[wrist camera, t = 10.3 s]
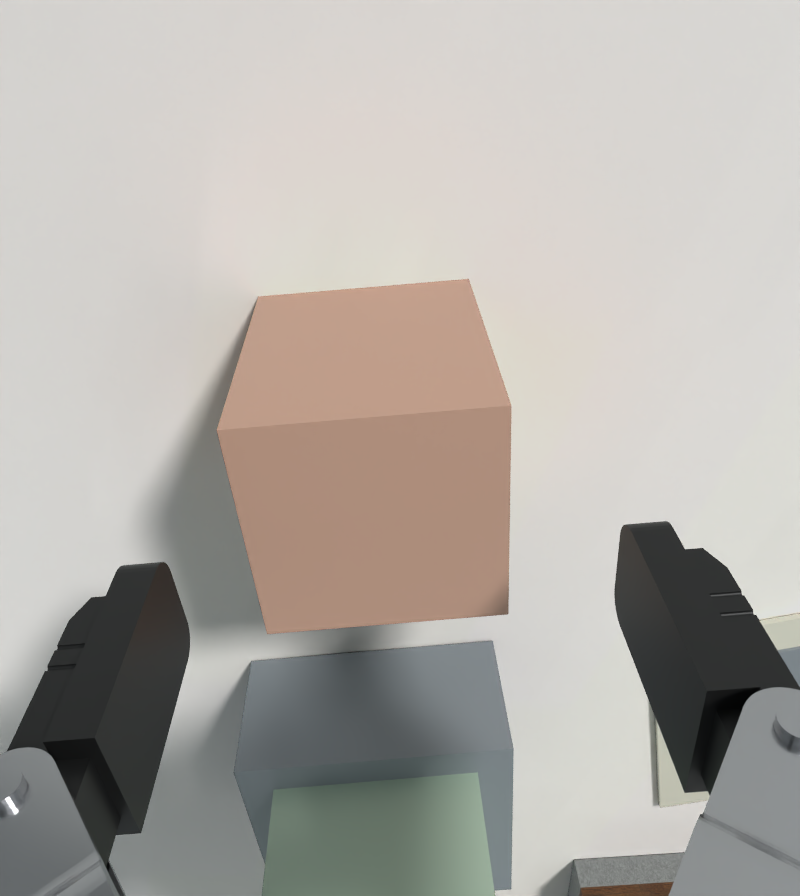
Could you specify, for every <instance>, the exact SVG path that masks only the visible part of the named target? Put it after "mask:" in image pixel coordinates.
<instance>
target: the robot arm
mask: <svg viewBox="0 0 800 896" xmlns="http://www.w3.org/2000/svg"><path fill="white" fill-rule="evenodd" d="M615 606H616V612H617V617H618V621H619V624H620V627H621V629H622V632H623V634H624V637H625V640H626V642H627V645H628V647H629V650H630V653H631V655H632V658H633V660H634V663H635V666H636V668H637V671H638V673H639V676H640V679H641V681H642V684H643V686H644V689H645V692H646V694H647V697H648V699H649V702H650V704H651V707H652V710H653V712H654V715H655V717H656V720H657V723H658V725H659V728H660V730H661V733H662V736H663V738H664V741H665V743H666V746H667V749H668V751H669V754H670V756H671V759H672V762H673V764H674V767H675V769H676V772H677V774H678V777H679V780H680V782H681V785H682V787H683V790H684V793H692V792H704V791H708V793H709V795H710V797H709V800H708V802H707V805H706V808H705V810H704V812H703V814H701V815H700V816H699V818H698V820H697V823H696V825H695V828H694V830H693V833H692V835H691V838H690V840H689V843H688V846H687V848H686V851H685V854H684V856H683V859H682V862H681V864H680V867H679V870H678V872H677V875H676V877H675V880H674V883H673V885H672V888H671V891H670V893H669V896H800V687H799V685H798V683H797V682H796V680H795V678H794V677H793V675H792V674H791V672H790V670H789V669H788V667H787V665H786V664H785V662H784V660H783V659H782V657H781V655H780V654H779V652H778V650H777V649H776V647H775V646H774V644H773V642H772V641H771V639H770V637H769V636H768V634H767V632H766V631H765V629H764V627H763V626H762V624H761V622H760V621H759V619H758V618H757V616H756V615H754V614H753V609H752V608H751V606H750V604H749V603H748V601H747V599H746V598H745V596H742V594H741V589H740V588H739V586H738V585H737V583H736V581H735V580H734V578H733V576H732V575H731V573H730V571H729V570H728V568H727V567H726V566H725V565H723V564H722V563H721V562H720V561H718V560H717V559H716V558H714V557H713V556H712V555H711V554H709V553H708V552H707V551H706V550H704V549H703V548H698V549H686V550H685V549H684V547H683V545H682V543H681V541H680V540H679V538H678V536H677V534H676V532H675V531H674V529H673V527H672V526H671V524H670V523H669V522H667V521H664V522H652V523H640V524H628V525H624V526H623V527H622V529H621V533H620V542H619V552H618V561H617V571H616V581H615ZM57 646H58V649H57V650H55V651H54V653H53V656H52V658H51V660H50V662H49V664H48V671H45V672H44V675H43V677H42V679H41V681H40V683H39V685H38V687H37V689H36V691H35V694H34V696H33V698H32V700H31V702H30V704H29V706H28V708H27V710H26V713H25V715H24V717H23V719H22V721H21V723H20V725H19V727H18V729H17V732H16V734H15V736H14V738H13V740H12V742H11V744H10V746H9V748H8V750H7V752H4V753H2V754H0V896H126V895H125V892H124V890H123V888H122V886H121V884H120V882H119V880H118V878H117V876H116V873H115V871H114V869H113V867H112V865H111V863H110V861H109V856H110V853H111V849H112V846H113V843H114V839H115V836H116V835H122V834H135V833H141V831H142V827H143V824H144V820H145V816H146V813H147V809H148V805H149V802H150V798H151V794H152V791H153V787H154V783H155V780H156V776H157V772H158V768H159V765H160V761H161V757H162V754H163V750H164V746H165V743H166V739H167V735H168V732H169V728H170V724H171V720H172V717H173V713H174V709H175V706H176V702H177V698H178V695H179V691H180V687H181V684H182V680H183V676H184V673H185V669H186V665H187V661H188V657H189V650H190V633H189V627H188V622H187V619H186V616H185V613H184V610H183V607H182V604H181V601H180V598H179V595H178V592H177V589H176V586H175V583H174V580H173V577H172V574H171V571H170V569H169V567H168V565H167V564H166V563H165V562H159V563H147V564H135V565H123V566H121V567H119V569H118V570H117V572H116V574H115V576H114V578H113V581H112V583H111V585H110V587H109V590H108V592H107V594H106V596H104V597H92V598H90V599H89V600H88V602H87V603H86V604H85V605H84V606H83V607H82V608H81V609H80V610H79V611H78V612H77V613H76V614H75V615H74V616H73V617H72V618H71V619H70V620H69V622H68V624H67V626H66V628H65V630H64V632H63V634H62V637H61V639H60V641H59V643H58V645H57Z"/></svg>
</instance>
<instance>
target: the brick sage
mask: <svg viewBox="0 0 800 896" xmlns="http://www.w3.org/2000/svg"><path fill="white" fill-rule="evenodd" d="M262 896H495V891H494V884H493V876H492V869H491V862H490V855H489V848H488V841H487V834H486V827H485V820H484V813H483V806H482V799H481V792H480V785H479V778H478V772H476V773H464V774H452V775H440V776H429V777H417V778H405V779H393V780H381V781H370V782H358V783H346V784H334V785H322V786H311V787H299V788H287V789H275V790H273V798H272V807H271V816H270V825H269V834H268V843H267V853H266V862H265V871H264V880H263V889H262Z"/></svg>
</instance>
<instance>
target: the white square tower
mask: <svg viewBox="0 0 800 896" xmlns="http://www.w3.org/2000/svg"><path fill="white" fill-rule="evenodd" d="M684 854H685V853H674V854H658V855H642V856H627V857H611V858H595V859H579V860H574V863H573V868H572V874H571V880H570V885H569V891H568V896H669V893H670V891H671V888H672V885H673V883H674V880H675V877H676V875H677V872H678V870H679V867H680V864H681V862H682V859H683V856H684Z"/></svg>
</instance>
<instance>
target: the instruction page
mask: <svg viewBox="0 0 800 896" xmlns="http://www.w3.org/2000/svg"><path fill="white" fill-rule="evenodd" d="M760 622H761V624H762V626H763V627H764V629H765V631H766V632H767V634H768V636H769V637H770V639H771V641H772V642H773V644H774V646H775V647H776V649H777V650H778V652H779V654H780V655H781V657H782V659H783V660H784V662H785V664H786V665H787V667H788V669H789V670H790V672H791V674H792V675H793V677H794V678H795V680H796V682H797V683H798V685H799V687H800V613H799V614H793V615H788V616H782V617H776V618H771V619H765V620H760ZM655 723H656V749H657V775H658V801H659V806H660V808H663V807H669V806H675V805H682V804H688V803H694V802H700V801H707V800H709V797H710V795H709V793H708V791H704V792H692V793H684V790H683V787H682V785H681V782H680V780H679V777H678V774H677V772H676V769H675V767H674V764H673V762H672V759H671V756H670V754H669V751H668V749H667V746H666V743H665V741H664V738H663V736H662V733H661V730H660V728H659V725H658V723H657V720H656V717H655Z"/></svg>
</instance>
